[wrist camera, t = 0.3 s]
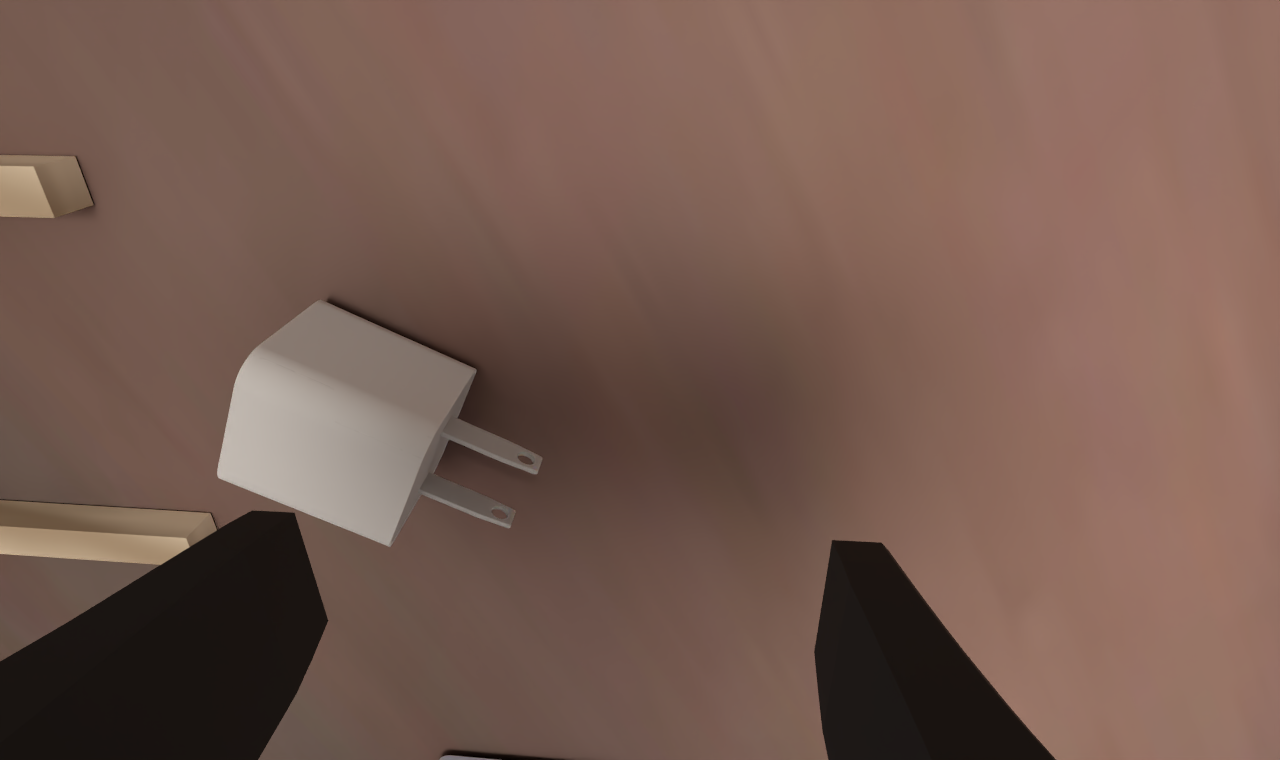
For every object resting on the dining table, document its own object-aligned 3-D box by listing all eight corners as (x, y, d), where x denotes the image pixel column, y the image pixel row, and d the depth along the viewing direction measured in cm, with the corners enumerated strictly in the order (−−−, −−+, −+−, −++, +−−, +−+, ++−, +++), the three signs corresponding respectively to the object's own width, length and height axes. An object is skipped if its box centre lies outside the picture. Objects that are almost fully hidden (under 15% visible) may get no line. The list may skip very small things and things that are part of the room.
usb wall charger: (329, 291, 18) (239, 359, 15) (568, 398, 19) (536, 486, 16) (299, 406, 20) (213, 490, 17) (518, 498, 21) (481, 597, 18)
